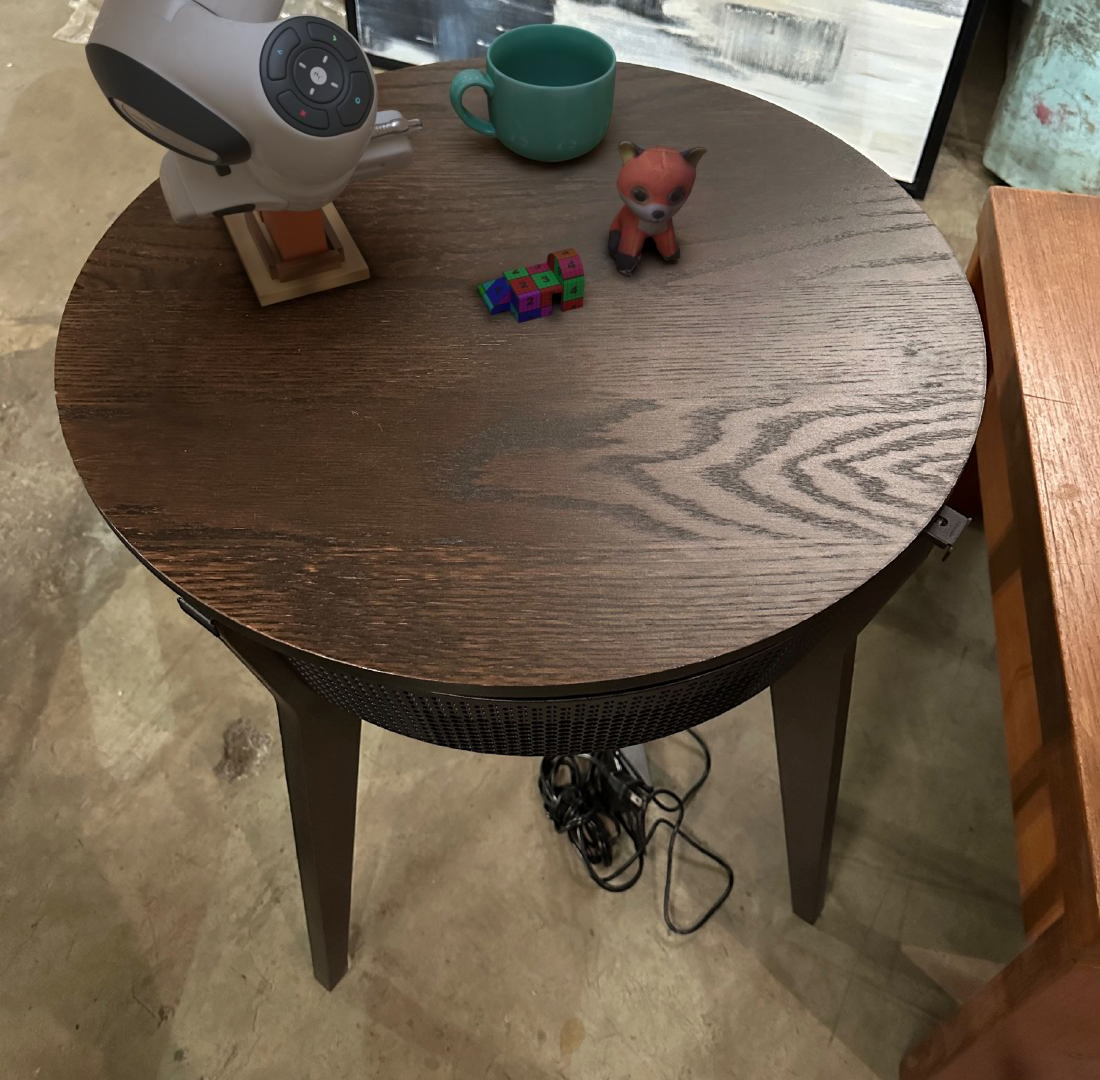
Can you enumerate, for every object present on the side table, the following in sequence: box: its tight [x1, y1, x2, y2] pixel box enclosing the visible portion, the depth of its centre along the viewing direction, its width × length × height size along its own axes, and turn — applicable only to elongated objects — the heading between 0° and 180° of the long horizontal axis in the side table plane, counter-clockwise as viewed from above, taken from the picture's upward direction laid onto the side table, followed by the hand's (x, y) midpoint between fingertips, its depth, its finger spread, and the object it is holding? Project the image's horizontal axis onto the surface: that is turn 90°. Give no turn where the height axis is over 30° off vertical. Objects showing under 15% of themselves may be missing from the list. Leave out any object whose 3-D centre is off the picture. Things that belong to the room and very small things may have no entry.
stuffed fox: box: [607, 140, 709, 277], centre depth 92 cm, size 8×11×12 cm
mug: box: [448, 23, 617, 163], centre depth 103 cm, size 17×13×10 cm
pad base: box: [221, 201, 371, 307], centre depth 93 cm, size 10×18×10 cm, turn 25°
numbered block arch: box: [476, 247, 586, 324], centre depth 90 cm, size 8×5×4 cm
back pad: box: [262, 208, 328, 263], centre depth 90 cm, size 4×7×9 cm, turn 25°
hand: (284, 190), depth 90 cm, fingers closed on back pad, 4 cm apart
